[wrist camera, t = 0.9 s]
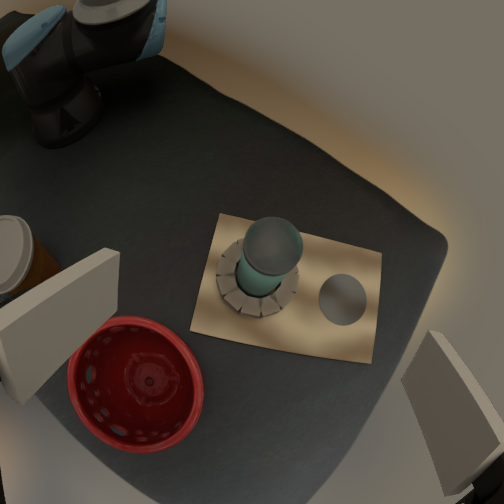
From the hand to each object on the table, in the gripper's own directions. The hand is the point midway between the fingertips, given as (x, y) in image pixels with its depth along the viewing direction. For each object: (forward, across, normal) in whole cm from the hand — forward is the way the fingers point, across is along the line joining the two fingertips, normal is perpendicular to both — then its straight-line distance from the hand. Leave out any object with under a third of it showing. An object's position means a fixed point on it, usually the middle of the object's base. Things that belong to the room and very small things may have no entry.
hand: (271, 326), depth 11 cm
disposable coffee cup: (+20, -30, -15) cm, 39 cm away
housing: (+27, +4, -10) cm, 29 cm away
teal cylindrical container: (+25, -1, -9) cm, 27 cm away
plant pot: (+16, -10, -22) cm, 29 cm away
